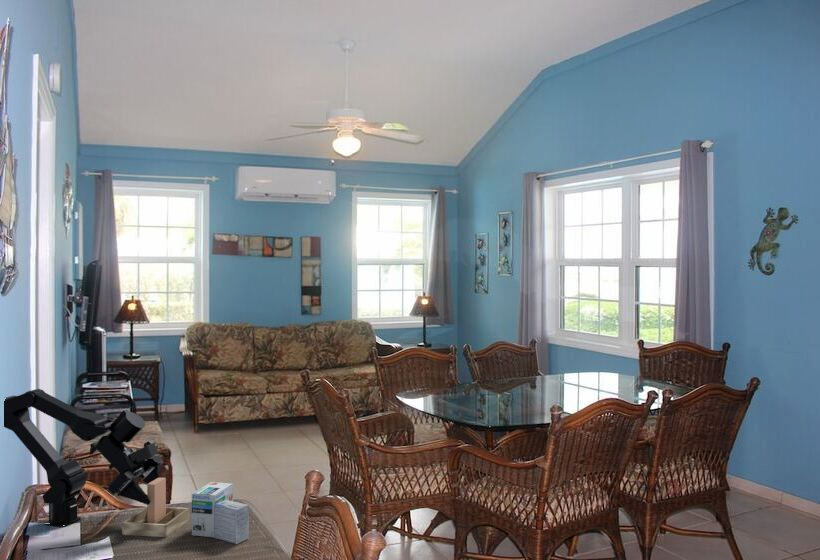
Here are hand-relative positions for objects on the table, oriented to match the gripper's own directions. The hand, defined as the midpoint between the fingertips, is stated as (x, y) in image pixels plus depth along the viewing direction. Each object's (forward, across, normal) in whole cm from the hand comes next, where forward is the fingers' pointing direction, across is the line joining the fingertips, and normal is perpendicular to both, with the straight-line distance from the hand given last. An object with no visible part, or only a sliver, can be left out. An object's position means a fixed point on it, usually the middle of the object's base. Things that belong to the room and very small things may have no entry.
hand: (158, 497), depth 184 cm
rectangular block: (+5, 0, +6) cm, 8 cm away
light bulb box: (+16, 0, -5) cm, 17 cm away
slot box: (+5, 0, +6) cm, 8 cm away
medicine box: (+21, -5, -10) cm, 24 cm away
